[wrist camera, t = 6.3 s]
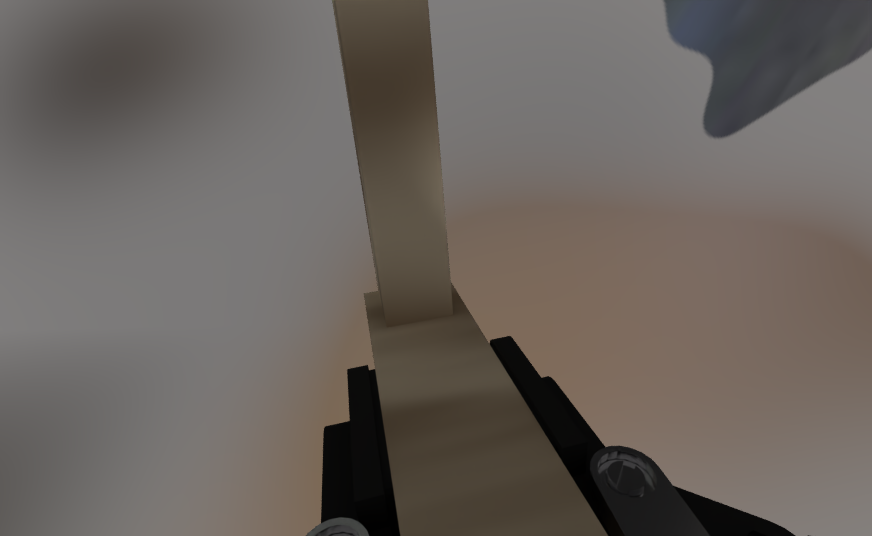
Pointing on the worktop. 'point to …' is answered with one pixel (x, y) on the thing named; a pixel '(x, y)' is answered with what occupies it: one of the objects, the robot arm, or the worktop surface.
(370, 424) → the robot arm
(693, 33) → the worktop surface
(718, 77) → the worktop surface
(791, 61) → the worktop surface
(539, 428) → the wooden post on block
